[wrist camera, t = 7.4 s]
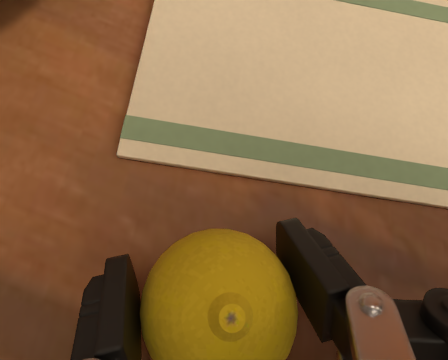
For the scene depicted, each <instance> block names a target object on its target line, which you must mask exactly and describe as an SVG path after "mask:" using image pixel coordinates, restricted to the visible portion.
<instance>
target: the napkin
mask: <svg viewBox="0 0 448 360" xmlns="http://www.w3.org/2000/svg"><path fill="white" fill-rule="evenodd" d="M116 155H117V157H118V158H124V159H130V160H137V161H143V162H150V163H156V164H163V165H169V166H175V167H182V168H188V169H195V170H201V171H208V172H214V173H221V174H227V175H233V176H240V177H246V178H253V179H259V180H266V181H272V182H278V183H285V184H291V185H298V186H304V187H311V188H317V189H323V190H330V191H336V192H343V193H349V194H356V195H362V196H369V197H375V198H381V199H388V200H394V201H401V202H407V203H414V204H420V205H426V206H433V207H439V208H446V209H448V0H154V4H153V9H152V13H151V17H150V21H149V25H148V29H147V33H146V37H145V41H144V45H143V49H142V53H141V57H140V61H139V65H138V69H137V73H136V77H135V81H134V85H133V89H132V93H131V97H130V101H129V105H128V109H127V114H126V115H125V119H124V123H123V127H122V131H121V135H120V142H119V146H118V150H117V154H116Z"/></svg>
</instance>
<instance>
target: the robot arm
mask: <svg viewBox="0 0 448 360" xmlns="http://www.w3.org/2000/svg"><path fill="white" fill-rule="evenodd" d="M276 256H277V257H278V258H279V260H280V261H281V263H282V264H283V266H284V267H285V269H286V270H287V272H288V274H289V276H290V279H291V282H292V284H293V287H294V290H295V293H296V297H297V299H298V301H299V303H300V304H301V306H302V308H303V310H304V312H305V313H306V315H307V317H308V319H309V321H310V322H311V324H312V326H313V328H314V330H315V331H316V333H317V335H318V337H319V339H320V340H321V342H322V343H323V342H327V341H330V340H333V342H334V343H335V345H336V347H337V360H448V289H445V288H434V289H431V290H429V291H427V292H426V294H425V296H424V299H423V300H398V299H392V298H391V297H390V296H389V295H387V294H386V293H385V292H383V291H381V290H379V289H377V288H374V287H371V286H367V285H366V284H365V283H364V282H363V281H362V279H361V278H360V277H359V276H358V275H357V273H356V272H355V271H354V270H353V269H352V267H351V266H350V265H349V264H348V263H347V262H346V260H345V259H344V258H343V257H342V256H341V255H340V254H339V252H338V251H337V250H336V248H335V247H333V246H332V244H331V242H330V241H329V240H328V239H327V238H326V236H325V235H323V234H322V233H320V232H318V231H317V230H315V229H313V228H310V229H305V227H304V226H303V225H302V223H301V222H300V221H299V220H298V219H297V218H293V219H288V220H284V221H279V222H277V224H276ZM81 305H82V306H81V308H80V313H79V318H78V323H77V328H76V333H75V339H74V344H73V349H72V354H71V359H70V360H141V321H140V306H141V301H140V291H139V286H138V282H137V279H136V276H135V272H134V269H133V266H132V262H131V259H130V256H129V254H125V255H121V256H116V257H111V258H107V259H106V262H105V269H104V275H99V276H95V277H92V279H91V280H90V282H89V283H88V285H87V286H86V288H85V289H84V292H83V297H82V302H81Z"/></svg>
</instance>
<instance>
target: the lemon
mask: <svg viewBox="0 0 448 360" xmlns="http://www.w3.org/2000/svg"><path fill="white" fill-rule="evenodd" d="M297 319H298V308H297V300H296V293H295V290H294V287H293V284H292V282H291V279H290V276H289V274H288V272H287V270H286V269H285V267H284V266H283V264H282V263H281V261H280V260H279V258H278V257H277V256H276V255H275V254H274V253H273V252H272V251H271V250H270V249H269V248H268V247H267V246H266V245H265V244H264V243H262V242H260V241H259V240H257V239H255V238H253V237H251V236H250V235H248V234H246V233H242V232H238V231H234V230H231V229H207V230H203V231H199V232H194V233H191V234H189V235H187V236H186V237H184V238H182V239H180V240H178V241H176V242H175V243H174V244H173V245H171V246H170V247H169V248H168V249H167V250H166V251H165V252H164V253H163V254H162V255H161V256H160V257H159V259H158V260H157V262H156V263H155V264H154V266H153V267H152V269H151V270H150V272H149V275H148V277H147V280H146V283H145V285H144V288H143V291H142V298H141V306H140V321H141V330H142V336H143V339H144V341H145V344H146V346H147V349H148V352H149V354H150V357H151V358H152V360H286V358H287V356H288V355H289V353H290V350H291V347H292V344H293V341H294V338H295V335H296V330H297Z"/></svg>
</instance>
